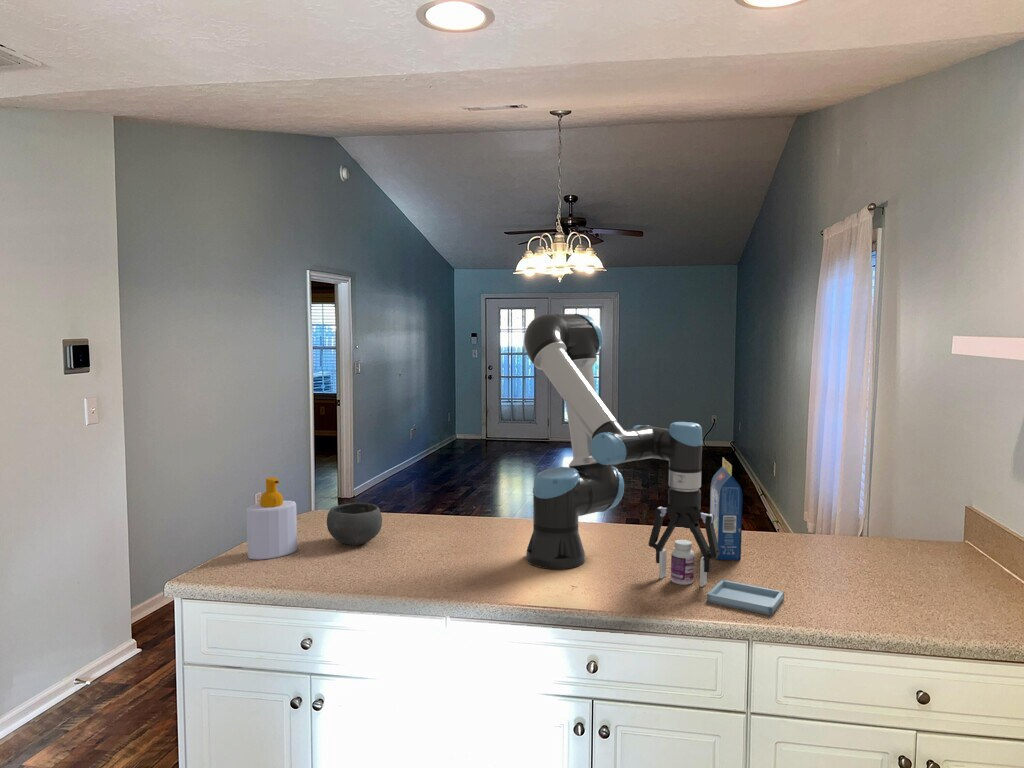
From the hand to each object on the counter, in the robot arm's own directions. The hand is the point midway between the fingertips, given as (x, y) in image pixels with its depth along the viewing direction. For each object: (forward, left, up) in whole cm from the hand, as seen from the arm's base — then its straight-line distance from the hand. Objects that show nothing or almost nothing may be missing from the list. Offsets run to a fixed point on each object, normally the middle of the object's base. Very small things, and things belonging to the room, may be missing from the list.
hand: (682, 580), depth 175 cm
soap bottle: (-98, -40, 0) cm, 106 cm away
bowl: (-87, -21, 0) cm, 90 cm away
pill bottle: (0, 0, 0) cm, 0 cm away
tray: (+16, -4, 0) cm, 16 cm away
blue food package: (+2, +27, 0) cm, 27 cm away
